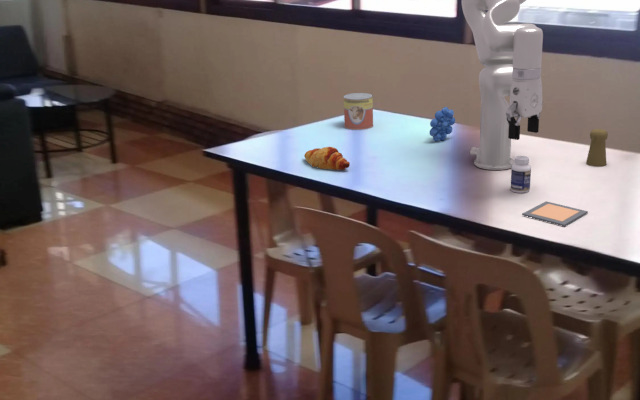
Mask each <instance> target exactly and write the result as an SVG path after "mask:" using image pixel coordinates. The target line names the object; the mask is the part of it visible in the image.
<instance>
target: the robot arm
mask: <svg viewBox="0 0 640 400" xmlns="http://www.w3.org/2000/svg"><path fill="white" fill-rule="evenodd" d="M526 1H527V0H461V8H462V12H463V13H462V14H463V16H464V18H465V20H466V23H467V24H468V26H469V28H470V30H471V32H472V35H473V41H474V44H475V49H476V53H477V58H478V60H479V62H480V64H481V65H482V66H484V68H482V69H481V70H480V72H479V75H478V86H479V87H478V88H479V93H480V134H479V148H478V147H474V146H472V147H471V149H470V152H469V154H470V155H471V156H476V158H475V159H474V160H473V161H474V163H473V164H474V165H475V166H476V167H477V168H480V169H484V170H488V171H502V170H509V169H511V168H512V165H513V164H515V162H514V159H513V158H511V149H512V140H515V141H516V140H517V141H519V140H520V136H521V134H520V133H521V125H520V122H521V120H522V118H523V119H527V128H526V129H527V132H530V133H535V134H537V133H539V128H540V127H539V126H540V118H541V112H542V111H543V105H544V104H543V103H544V101H543V84H542V83H543V82H542V77H541V76H542V61H543V60H542V58H543V39H544V33H543V32H544V31H543V29H542V28H540V27H537V25H536V24H534V23H529V22H528V23H526V22H525V23H509V22H510V21H512V20H514V19H515V18H516V16H517V15H518V14H519V11H520V9H521V4H524V3H526ZM508 23H509V24H508ZM506 97H509V102H508V101H507V100H506Z"/></svg>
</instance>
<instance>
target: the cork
mask: <svg viewBox="0 0 640 400" xmlns="http://www.w3.org/2000/svg"><path fill="white" fill-rule="evenodd" d="M608 137H609V135H608V131H607V130H606V129H604V128H603V129H602V128H594V129H592V130H591V131H590V133H589V138H590V140H591V141H590V144H589V148H588V149H589V150H588V154H587V157H586V162H585V164H586V165H587V166H590V167H598V168H599V167H605V166H607V147H606V144H607V143H606V140H607V139H608Z"/></svg>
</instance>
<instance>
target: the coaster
mask: <svg viewBox="0 0 640 400" xmlns="http://www.w3.org/2000/svg"><path fill="white" fill-rule="evenodd" d="M588 213H589V212H588V210H583V209H580V208H576V207H571V206H568V205H563V204H560V203H555V202H551V201H546V200H545V201H544V202H542V203H540V204H538V205H536V206H534V207H532V208H530V209H528V210H527V211H524V212H523V213H522V214H521V215H525V216H528V217H527V218H529V217H532V218H531V219H533V218H535V219H534V220H536V219H539V220H538V221H540V220H543V221H542V222H544V221H547V222H546V223H548V222H551V223H550V224H552V223H555V224H558V225H557V226H559V225H562V226H561V227H563V226H565V227H566V225H567V226H568V224H569V225H570V224H572V223H573V222H575V221H577V220H580V219H581V218H582V217H585V216H587V214H588ZM525 216H524V217H525ZM555 224H554V225H555Z"/></svg>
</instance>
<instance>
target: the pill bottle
mask: <svg viewBox="0 0 640 400" xmlns="http://www.w3.org/2000/svg"><path fill="white" fill-rule="evenodd" d="M513 160H514V162H515V164H513V165H512V168H510V170H511V171H510V172H511V173H510V185H509V186H510V191H512V193H513V192H514V193H517V194H518V193H519V194H520V193H521V194H524V193H528V192H530V190H531V177H532V176H531V173H532V167H531V165H530V164H529V163H530V157H529V156H525V155H516V156H515V157H514V159H513Z"/></svg>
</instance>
